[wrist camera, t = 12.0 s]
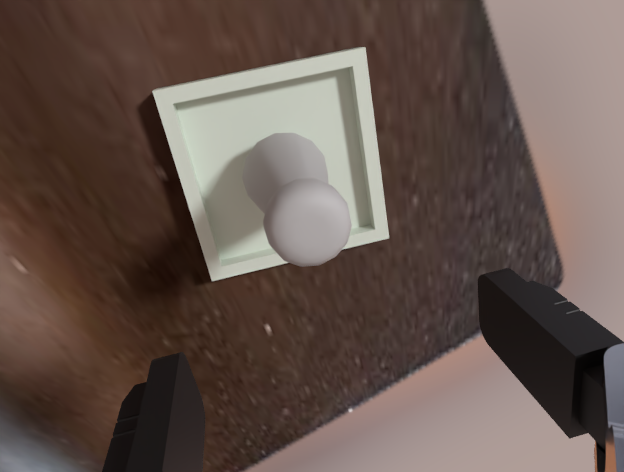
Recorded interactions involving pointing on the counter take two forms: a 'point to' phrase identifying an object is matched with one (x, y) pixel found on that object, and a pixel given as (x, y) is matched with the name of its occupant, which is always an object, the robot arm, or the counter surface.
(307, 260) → the salt shaker
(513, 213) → the counter surface
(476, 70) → the counter surface
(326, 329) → the counter surface
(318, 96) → the tray
